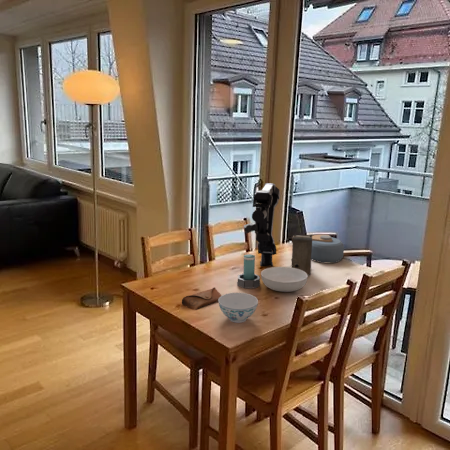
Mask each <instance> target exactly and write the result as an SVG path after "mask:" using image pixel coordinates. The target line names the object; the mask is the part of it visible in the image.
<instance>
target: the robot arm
mask: <svg viewBox="0 0 450 450" xmlns="http://www.w3.org/2000/svg"><path fill="white" fill-rule="evenodd" d="M280 200H281V191H280V188H278V186H276V183H271V182H270V183H268V182H267V183H264V186H263V188H262V189H261V190H257V191H256V192H255V193H254V197H253V202H252V208H255V210H254V211H253V212H252V214H251V219H252V220H253V221H252V222H250V223H247V224H243V229H244V232H245V234H246V235H247V234H250V233H252V232H254V234H255V241H256V242H257V254H261V255H260V257H261V258H260V261H259V265H260V267H274V263H273V256H274V255H277V246H276V243H275V239H274V237H273V228H274V221H275V220H274V217H275V208H276V207H277V206H278V204H279V201H280Z"/></svg>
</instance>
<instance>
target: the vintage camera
mask: <svg viewBox="0 0 450 450" xmlns="http://www.w3.org/2000/svg"><path fill="white" fill-rule="evenodd" d="M312 236H313V235H311V234H310V235H296V234H294V235H292V237H291V244H292V248H291V249H292V251H291V259H290V261H291V265H290V266H291V268H296V269H300V270H302V271H304V272H306V273H307V275H308V276H311V272H312V271H311V267H312V259H311V252H312Z"/></svg>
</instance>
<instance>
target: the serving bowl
mask: <svg viewBox="0 0 450 450" xmlns="http://www.w3.org/2000/svg"><path fill="white" fill-rule="evenodd" d="M291 267H292V266H291ZM291 267H290V266H270V267H267V268H264V269H263V270H261V272H260V279H261V281H262V282H263V284H264V285H265V286H266V287H267V288H269V289H270V290H273V291H276V292H284V293H287V292H295V291H298V290H300V289H302V288H303V287H304V286H305V285H306V283H307V281H308V276H309V275H307V273H306V272H304V271H302V270H300V269H296V268H291Z"/></svg>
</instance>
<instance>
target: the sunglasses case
mask: <svg viewBox="0 0 450 450" xmlns="http://www.w3.org/2000/svg"><path fill="white" fill-rule="evenodd" d="M222 295H223V294H221V293H220V292H219V290H217V289H216V287H212V288H209V289H207V290H203V291H200V292H196V293H194V294H192V295H185V296H184V297H182V298H181V305H182V306H184V305H185V306H184V307H186V306H187V308H188V309H191V310H194V311H197V310H199V309H201V308H204V307H207V306H210V305H212V304H215V303H219V302H218V299H219V298H220V297H221V296H222Z"/></svg>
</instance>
